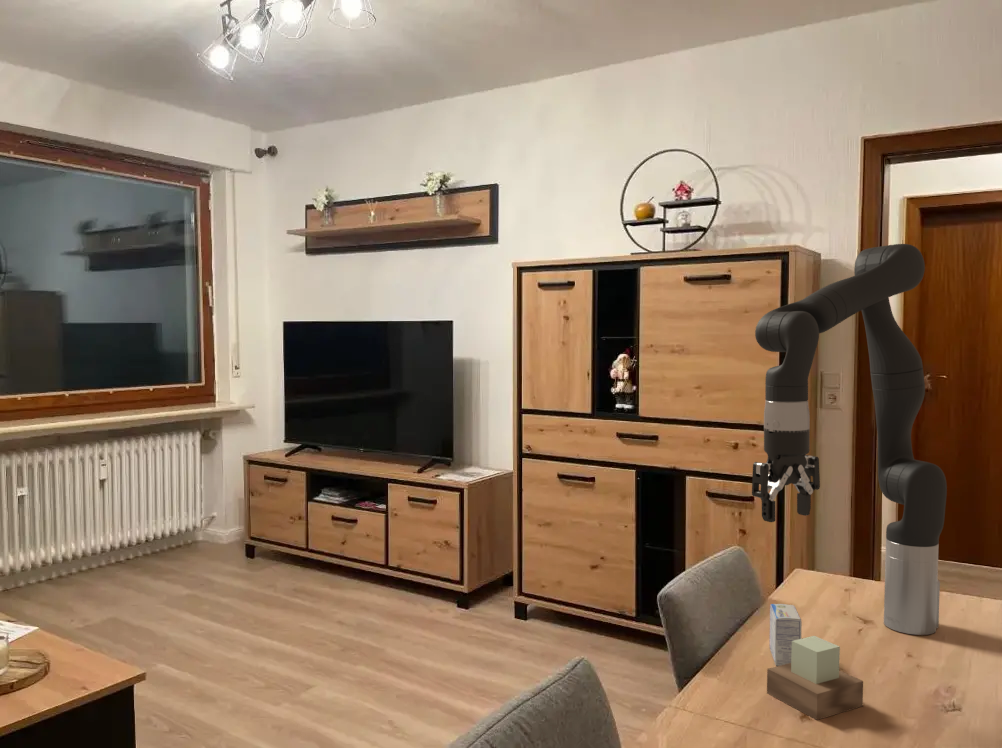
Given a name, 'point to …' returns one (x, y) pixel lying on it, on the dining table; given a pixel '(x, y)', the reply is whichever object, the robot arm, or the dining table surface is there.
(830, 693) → the walnut block
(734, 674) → the dining table surface
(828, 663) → the sage green cube
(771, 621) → the medicine box
